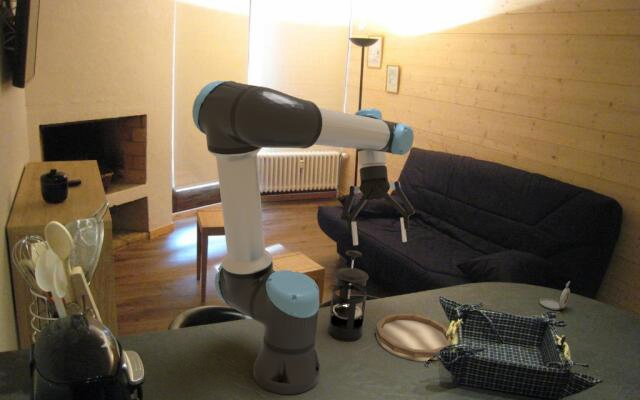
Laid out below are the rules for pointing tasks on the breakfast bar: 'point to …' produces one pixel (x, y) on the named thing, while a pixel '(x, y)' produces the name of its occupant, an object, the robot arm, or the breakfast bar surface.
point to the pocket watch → (554, 304)
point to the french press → (347, 303)
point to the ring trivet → (412, 336)
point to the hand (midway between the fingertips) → (379, 243)
